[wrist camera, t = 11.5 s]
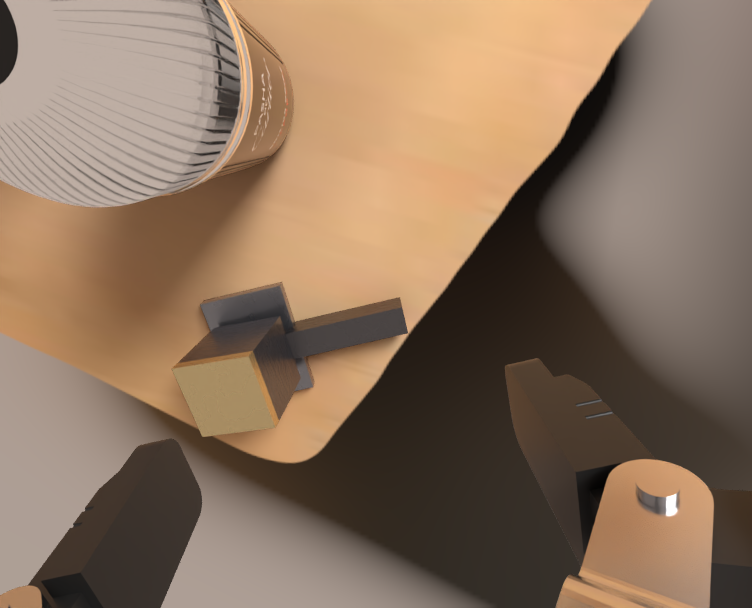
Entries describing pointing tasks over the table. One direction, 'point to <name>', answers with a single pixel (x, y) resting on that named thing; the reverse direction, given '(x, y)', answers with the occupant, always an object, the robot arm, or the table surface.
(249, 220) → the table surface
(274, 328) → the khaki matte cube
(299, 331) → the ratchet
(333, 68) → the table surface
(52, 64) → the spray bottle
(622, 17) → the table surface
